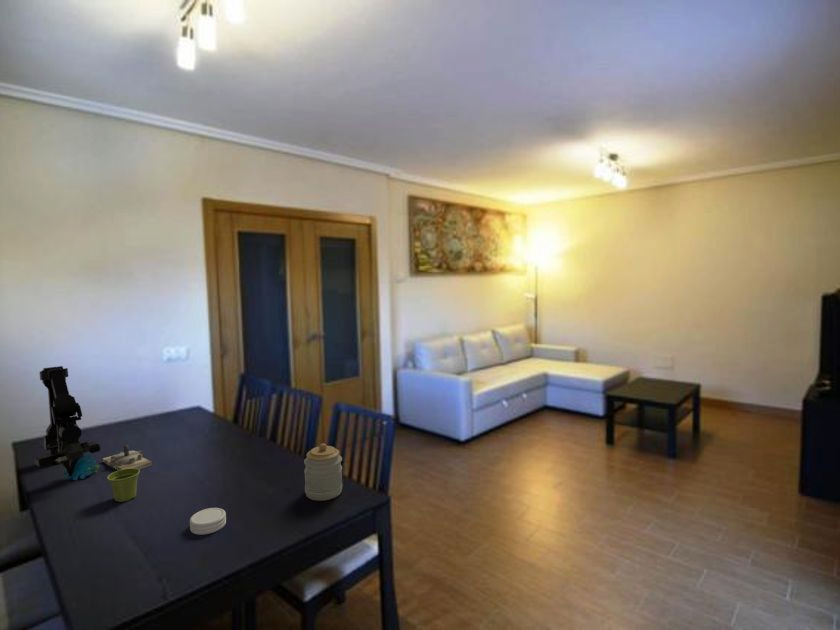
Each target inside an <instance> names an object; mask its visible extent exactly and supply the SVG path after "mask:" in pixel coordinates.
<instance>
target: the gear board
mask: <svg viewBox="0 0 840 630" xmlns="http://www.w3.org/2000/svg"><path fill="white" fill-rule="evenodd" d="M129 446H130V445H129V444H126V445H123V451H121V452H119V453H117V454H114V455H110V456H106V457H103V458H102V463H104V464H105V465H107V466H110V467H111V468H112V469H114V468H115V469H114V470H116V469H117V470H116V471H118V470H122V469H127V468H137V469H139V470H142V469H144V468H145V469H146V468H148V467H151V466H152V465H153V462H152V461H151V460H149V459H148V458H145V457H143V455H144V454H143V451H142V450H139V451H136V450H135V449H132V450H130V449H129Z"/></svg>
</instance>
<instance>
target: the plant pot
mask: <svg viewBox="0 0 840 630" xmlns="http://www.w3.org/2000/svg"><path fill="white" fill-rule="evenodd" d="M140 472H141V469H137V468H127V469H122V470H116V471H113V472H112V473H110V474H108V475H107V478H106V479H107V480H108V482H109V483H110V485H111V489H112V494H113V498H114V502H119V503H123V502H127V501H130V500H132V499H134V498H136V497H137V489H138V487H137V486H138V478H139V475H140Z"/></svg>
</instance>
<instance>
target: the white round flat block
mask: <svg viewBox="0 0 840 630" xmlns="http://www.w3.org/2000/svg"><path fill="white" fill-rule="evenodd" d="M226 515H227V513H226V511H225V510H224V509H223V508H220V507H209V508H204V509H202V510H199V511H198V512H195V513H194V514H193V515H192V516H191V517H190V519H189V530H190V532H191V533H192V534H195V535H197V536H198V535H210V534H212V533H215V532H217V531H220V530H221V529H222V528H224V527H225V525H226V523H227V516H226Z"/></svg>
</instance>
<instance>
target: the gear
mask: <svg viewBox="0 0 840 630" xmlns="http://www.w3.org/2000/svg"><path fill="white" fill-rule="evenodd" d="M91 464H92V465H91ZM94 464H95V465H94ZM99 468H100V465H99V464H96V459H93V457H92V455H89V456H88V457H87V455H86V453H83V458H80V459H79V460H78V462H77V464H76V466H75V469H74V472H73V475H72V476H70V477H69V476H68V474H67V472H66V471H65V470H64V471H63V475H64V476H66V475H67V476H66V478H67V480H70V479H72V480H73V481H75V480H76V481H78V478H80V480H84V478H86V476H85V474H87V476H90V475H92V473H93V472H94V473H95V472H96V473H97V472H98V469H99ZM80 475H81V476H80Z"/></svg>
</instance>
